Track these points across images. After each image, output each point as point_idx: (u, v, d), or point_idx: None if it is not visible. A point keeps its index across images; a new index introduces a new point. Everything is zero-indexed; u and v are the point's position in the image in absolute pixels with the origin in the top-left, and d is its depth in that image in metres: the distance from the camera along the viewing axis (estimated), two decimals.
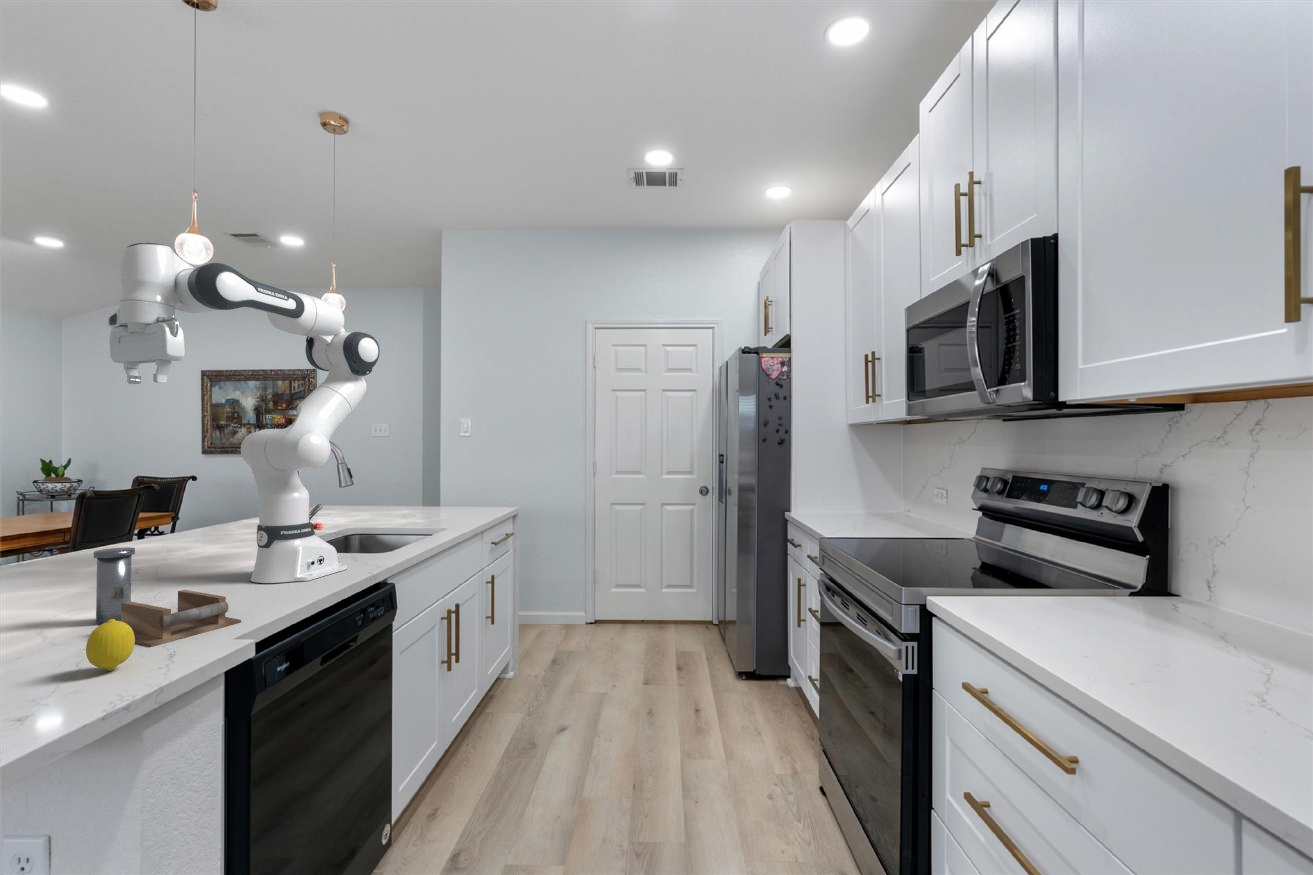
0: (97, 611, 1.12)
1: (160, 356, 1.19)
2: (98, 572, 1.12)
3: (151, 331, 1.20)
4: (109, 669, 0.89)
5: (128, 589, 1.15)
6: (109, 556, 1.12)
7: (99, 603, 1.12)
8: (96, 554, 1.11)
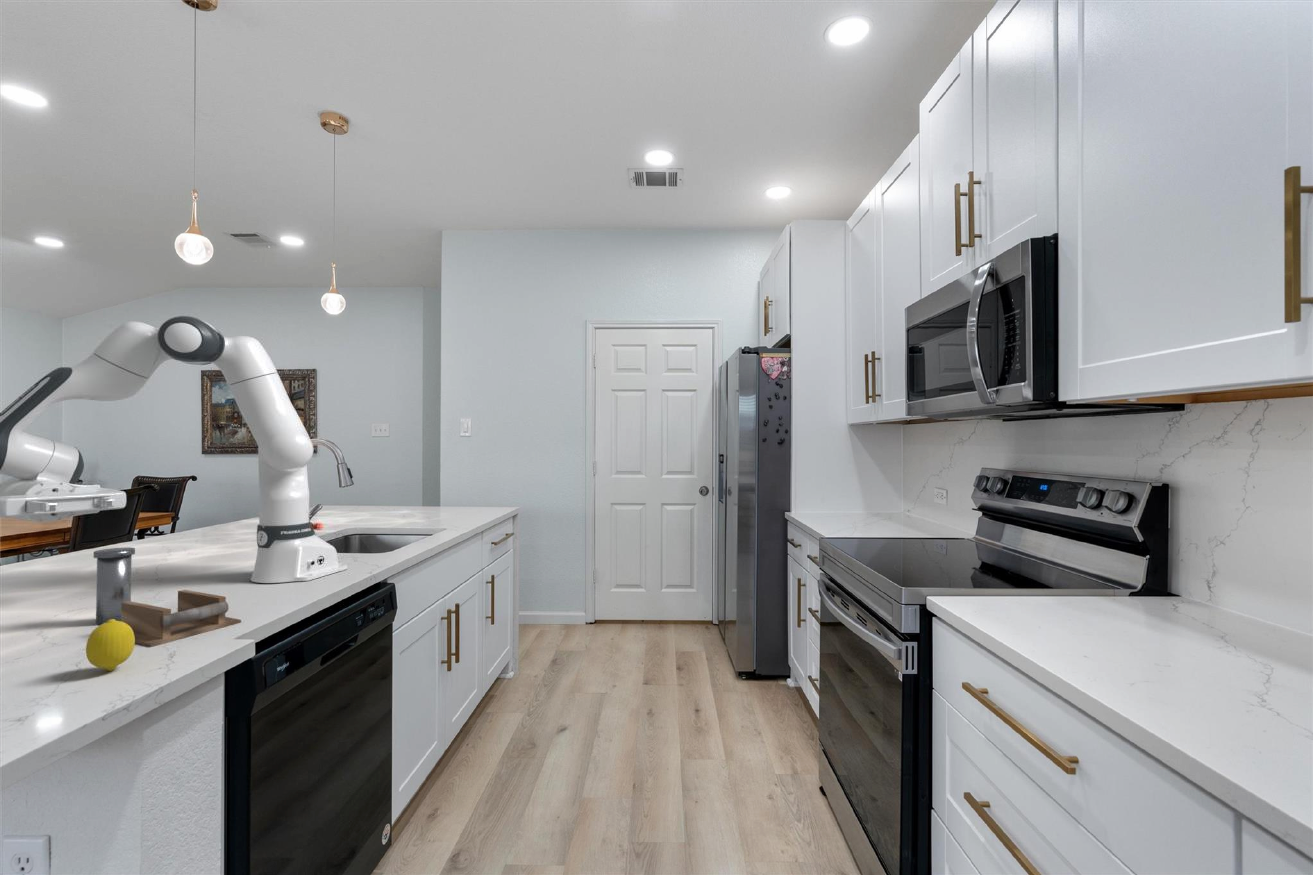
0: (97, 611, 1.12)
1: (13, 516, 1.13)
2: (98, 572, 1.12)
3: None
4: (109, 669, 0.89)
5: (128, 589, 1.15)
6: (109, 556, 1.12)
7: (99, 603, 1.12)
8: (96, 554, 1.11)
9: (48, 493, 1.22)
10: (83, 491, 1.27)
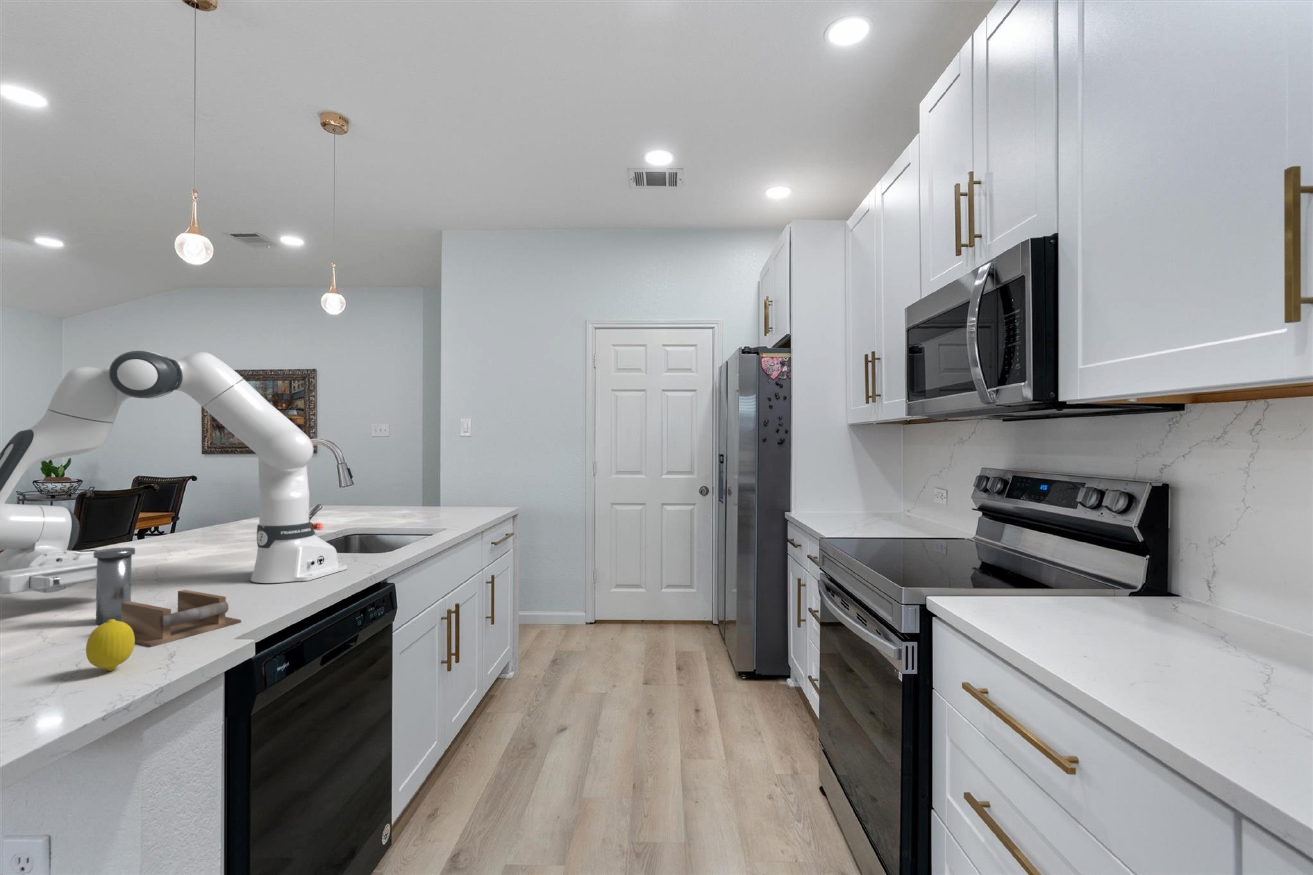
0: (97, 611, 1.12)
1: (17, 592, 1.13)
2: (98, 572, 1.12)
3: None
4: (109, 669, 0.89)
5: (128, 589, 1.15)
6: (109, 556, 1.12)
7: (99, 603, 1.12)
8: (96, 554, 1.11)
9: (52, 564, 1.21)
10: (87, 558, 1.27)
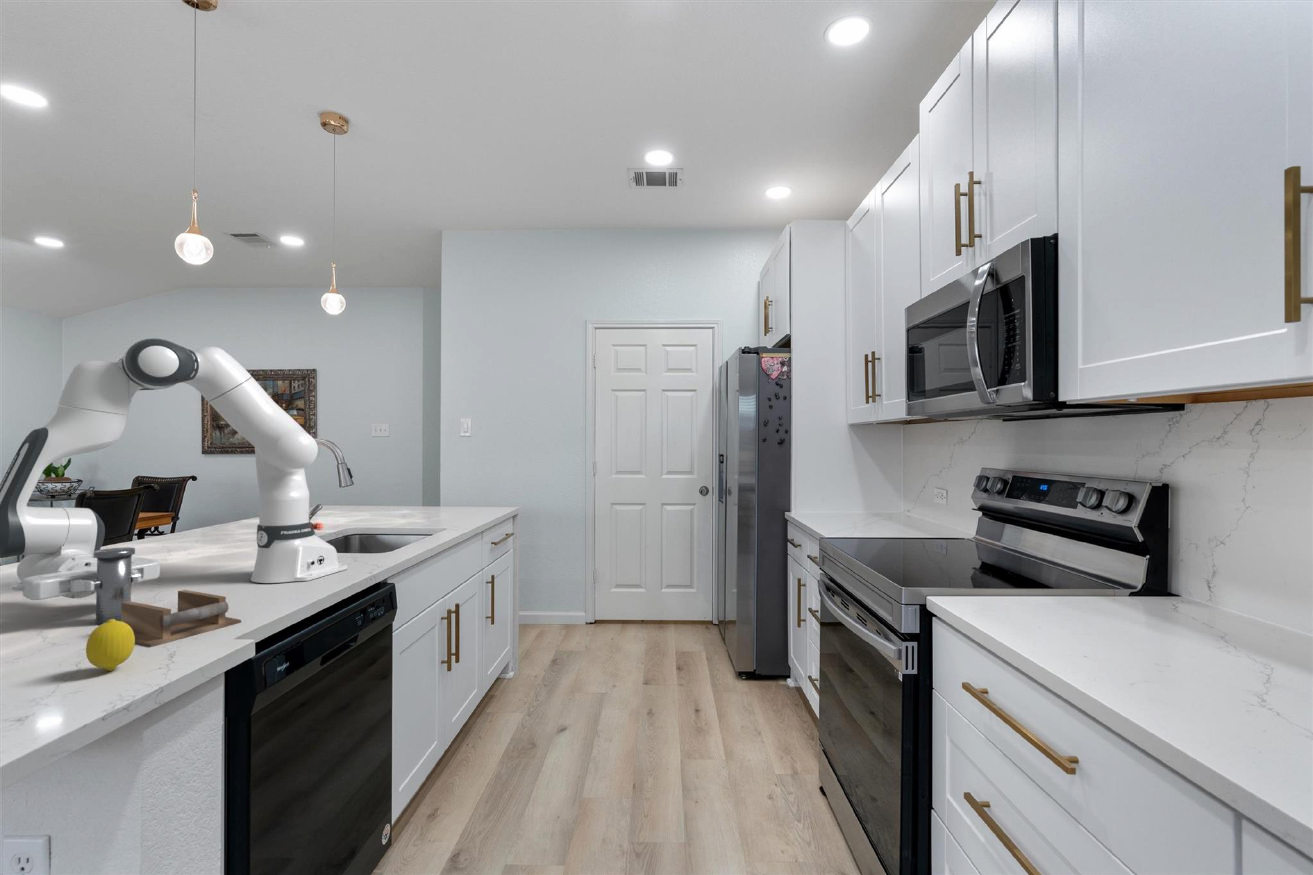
0: (97, 611, 1.12)
1: (47, 598, 1.08)
2: (98, 572, 1.12)
3: None
4: (109, 669, 0.89)
5: (128, 589, 1.15)
6: (109, 556, 1.12)
7: (99, 603, 1.12)
8: (96, 554, 1.11)
9: (81, 568, 1.17)
10: None
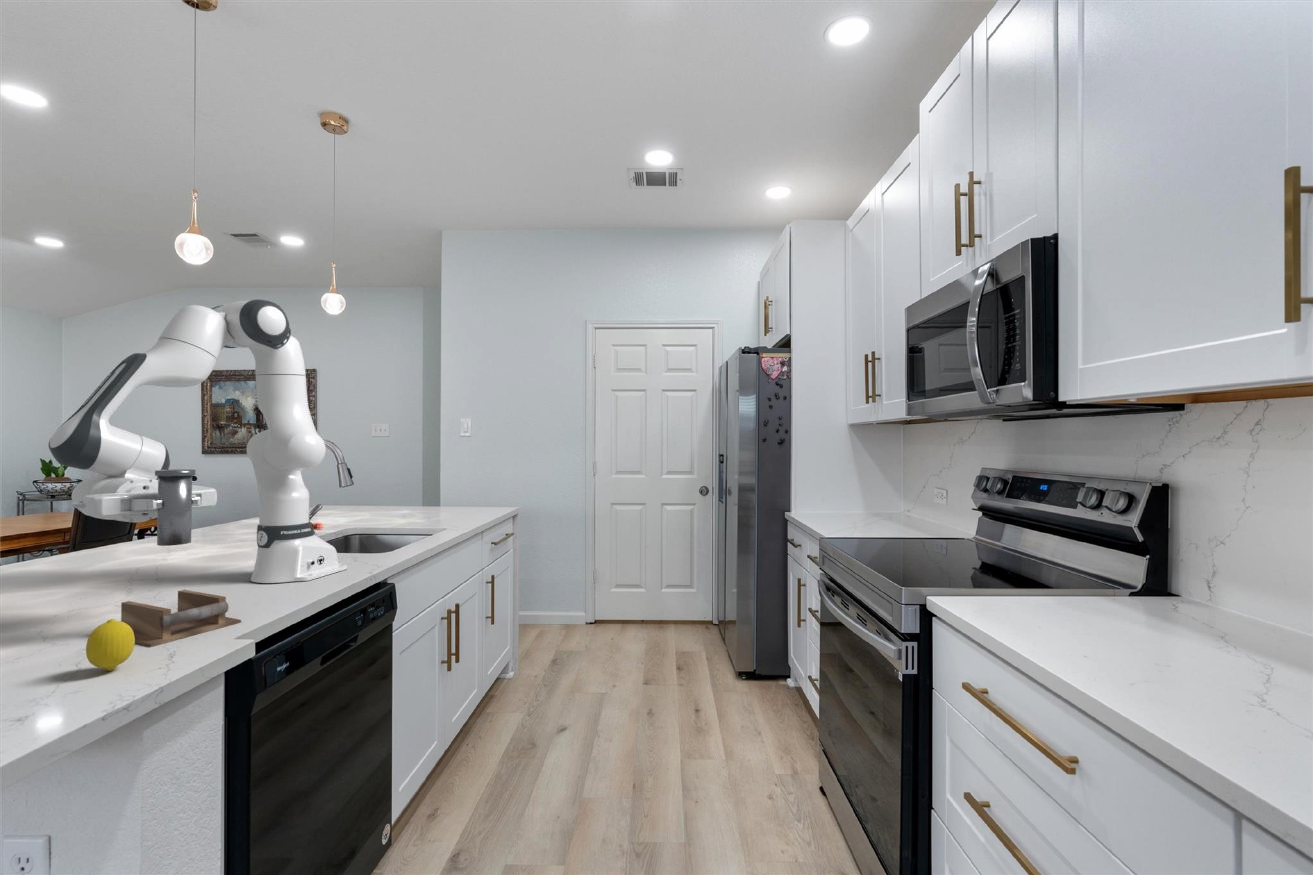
0: (158, 532, 1.08)
1: (108, 515, 1.04)
2: (159, 491, 1.08)
3: None
4: (109, 669, 0.89)
5: (189, 511, 1.11)
6: (171, 474, 1.08)
7: (161, 523, 1.08)
8: (158, 472, 1.07)
9: (139, 491, 1.13)
10: None
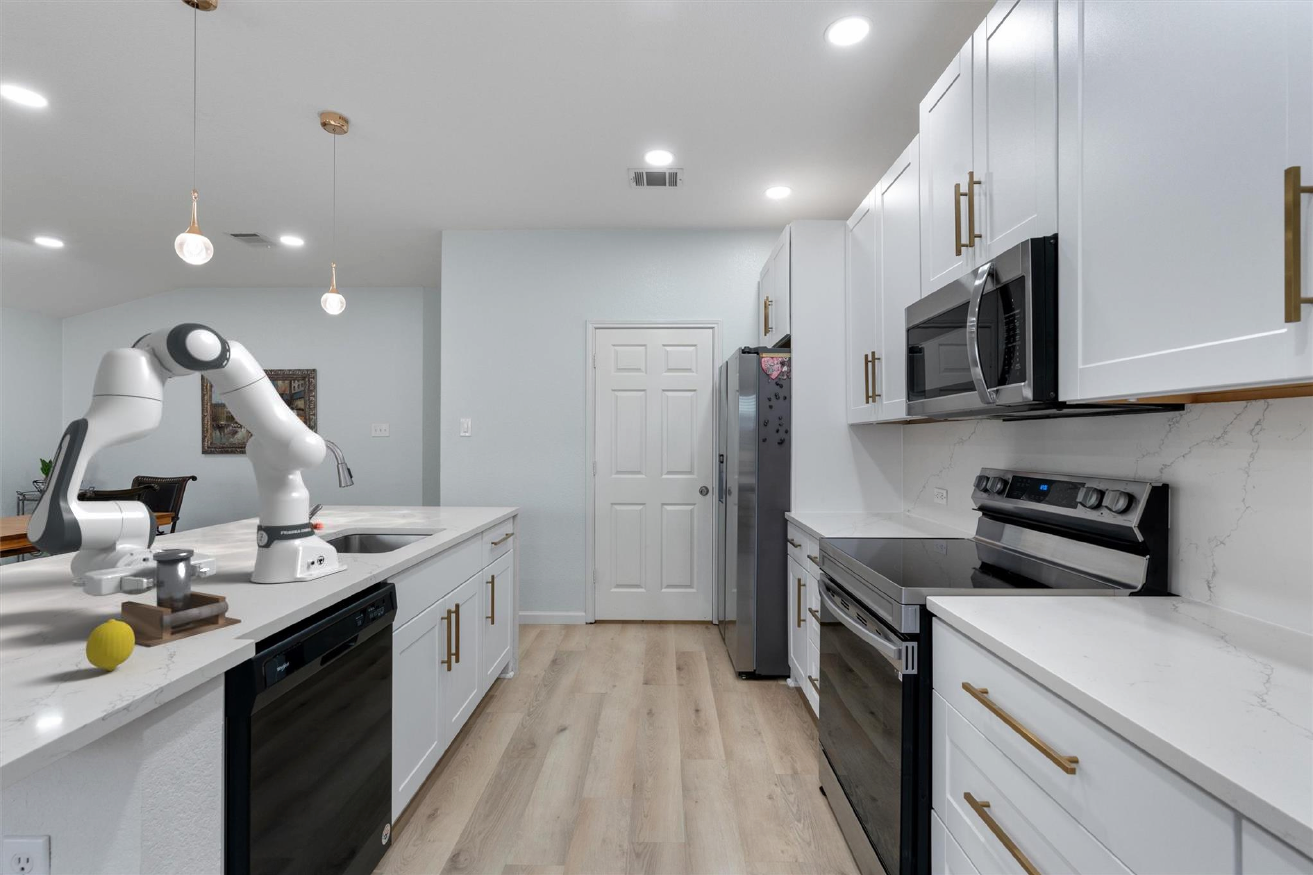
0: None
1: (108, 594, 1.04)
2: (158, 575, 1.08)
3: None
4: (109, 669, 0.89)
5: (188, 593, 1.10)
6: (169, 558, 1.07)
7: None
8: (156, 556, 1.07)
9: (139, 564, 1.13)
10: None
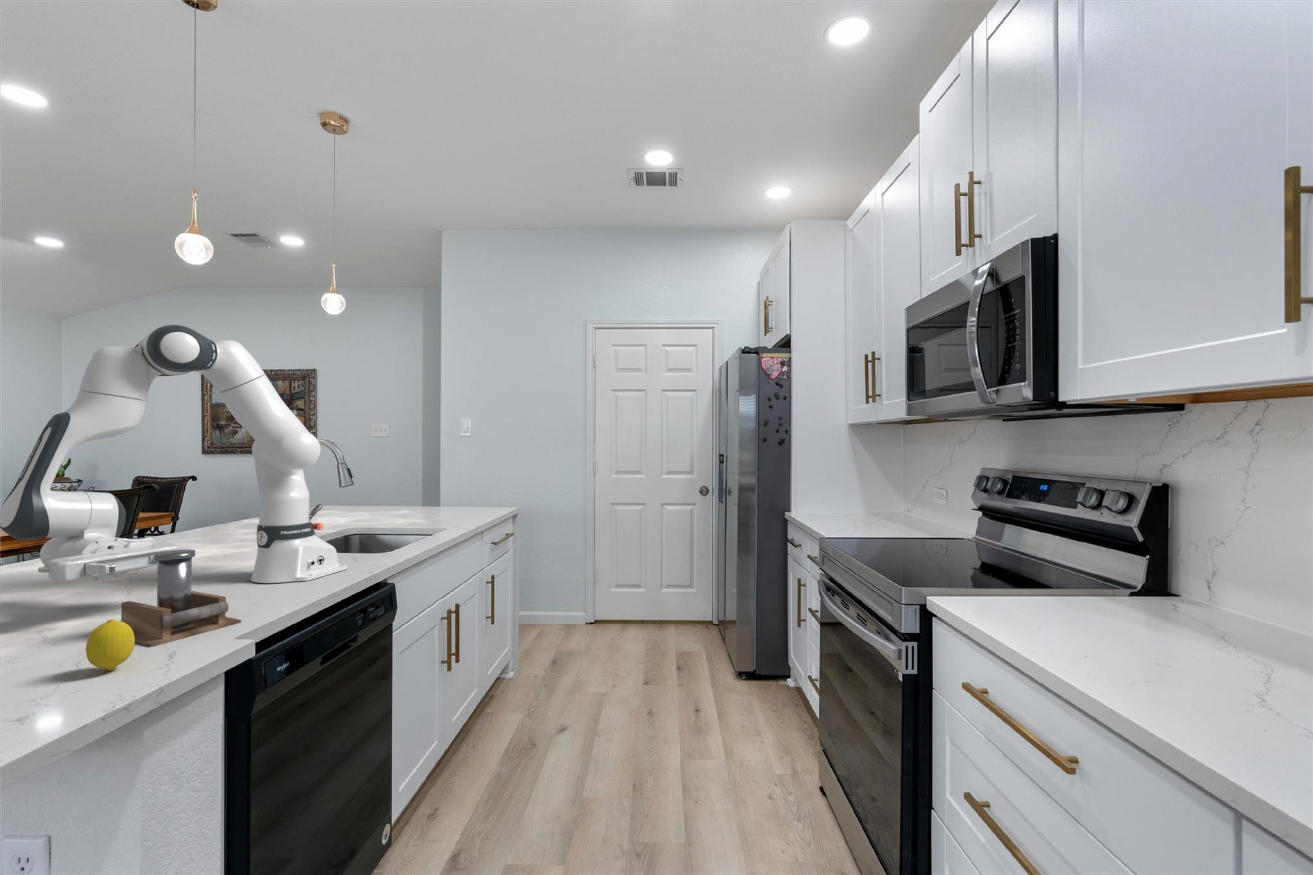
0: None
1: (72, 579, 1.10)
2: (159, 575, 1.08)
3: None
4: (109, 669, 0.89)
5: (189, 593, 1.10)
6: (171, 559, 1.07)
7: None
8: (157, 557, 1.07)
9: (104, 551, 1.18)
10: (138, 546, 1.23)
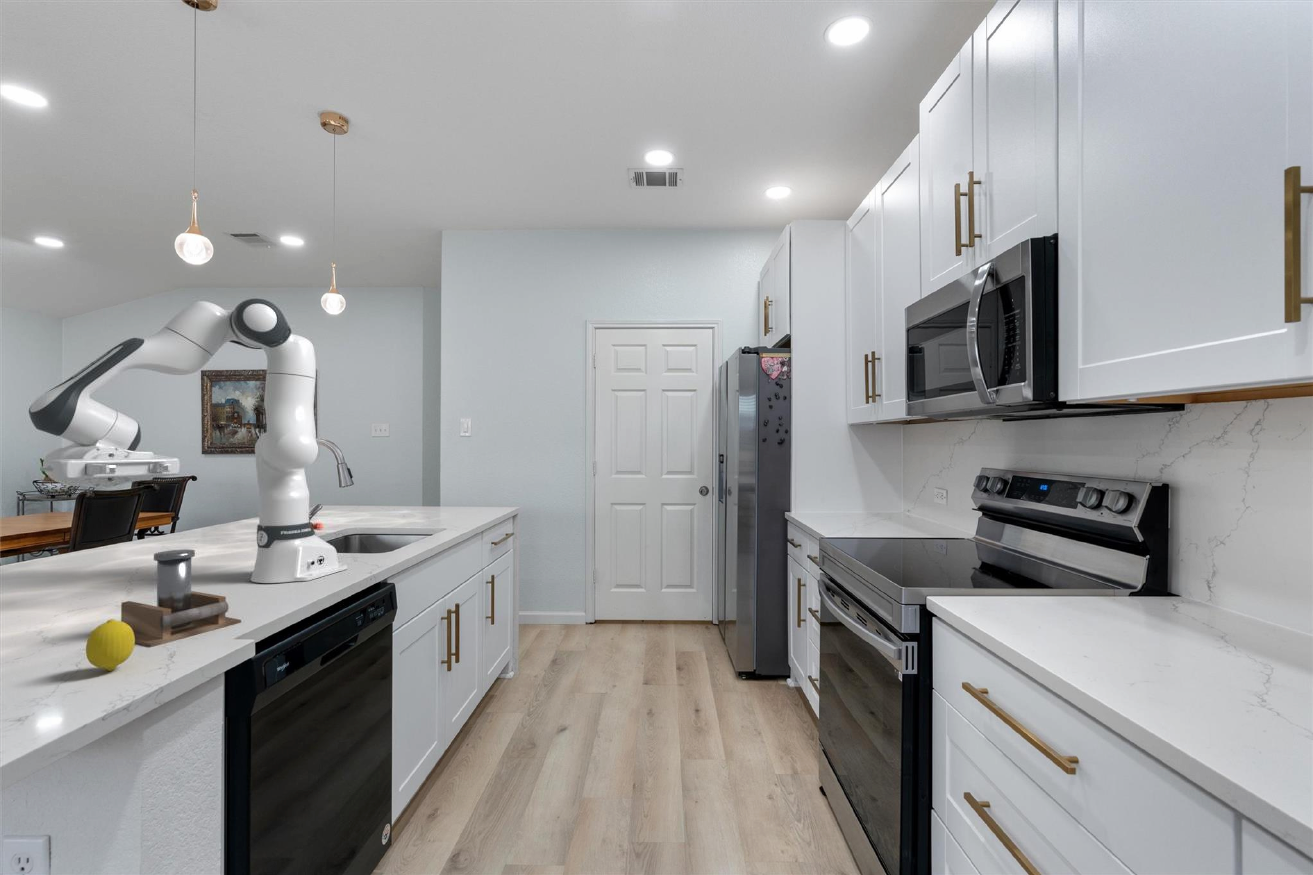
0: None
1: (74, 478, 1.13)
2: (159, 575, 1.08)
3: None
4: (109, 669, 0.89)
5: (188, 593, 1.10)
6: (170, 559, 1.07)
7: None
8: (157, 557, 1.07)
9: (105, 458, 1.21)
10: (138, 457, 1.26)
